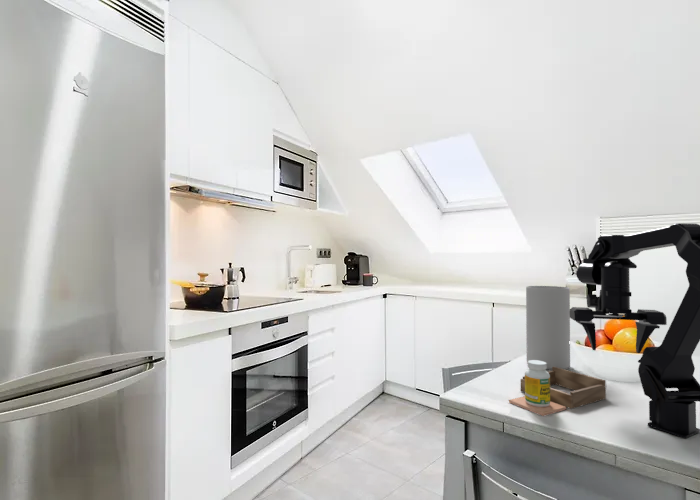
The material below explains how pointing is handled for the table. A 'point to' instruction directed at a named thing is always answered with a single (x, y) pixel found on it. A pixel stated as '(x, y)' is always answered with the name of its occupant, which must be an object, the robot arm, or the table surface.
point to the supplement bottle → (537, 384)
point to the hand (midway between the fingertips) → (615, 351)
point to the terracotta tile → (539, 410)
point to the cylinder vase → (548, 325)
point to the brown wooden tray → (574, 388)
